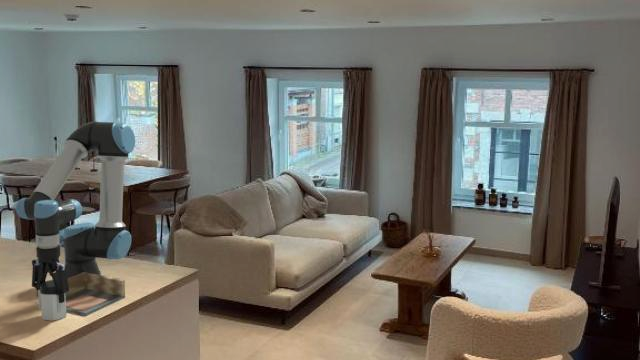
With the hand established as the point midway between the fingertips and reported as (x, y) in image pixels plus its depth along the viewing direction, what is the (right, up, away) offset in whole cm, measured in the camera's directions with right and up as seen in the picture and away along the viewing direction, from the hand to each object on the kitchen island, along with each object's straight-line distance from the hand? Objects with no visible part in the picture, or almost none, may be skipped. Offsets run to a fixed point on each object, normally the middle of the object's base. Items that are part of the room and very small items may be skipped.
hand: (51, 308), depth 220 cm
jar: (+1, -3, +1) cm, 3 cm away
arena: (+7, 0, +15) cm, 16 cm away
